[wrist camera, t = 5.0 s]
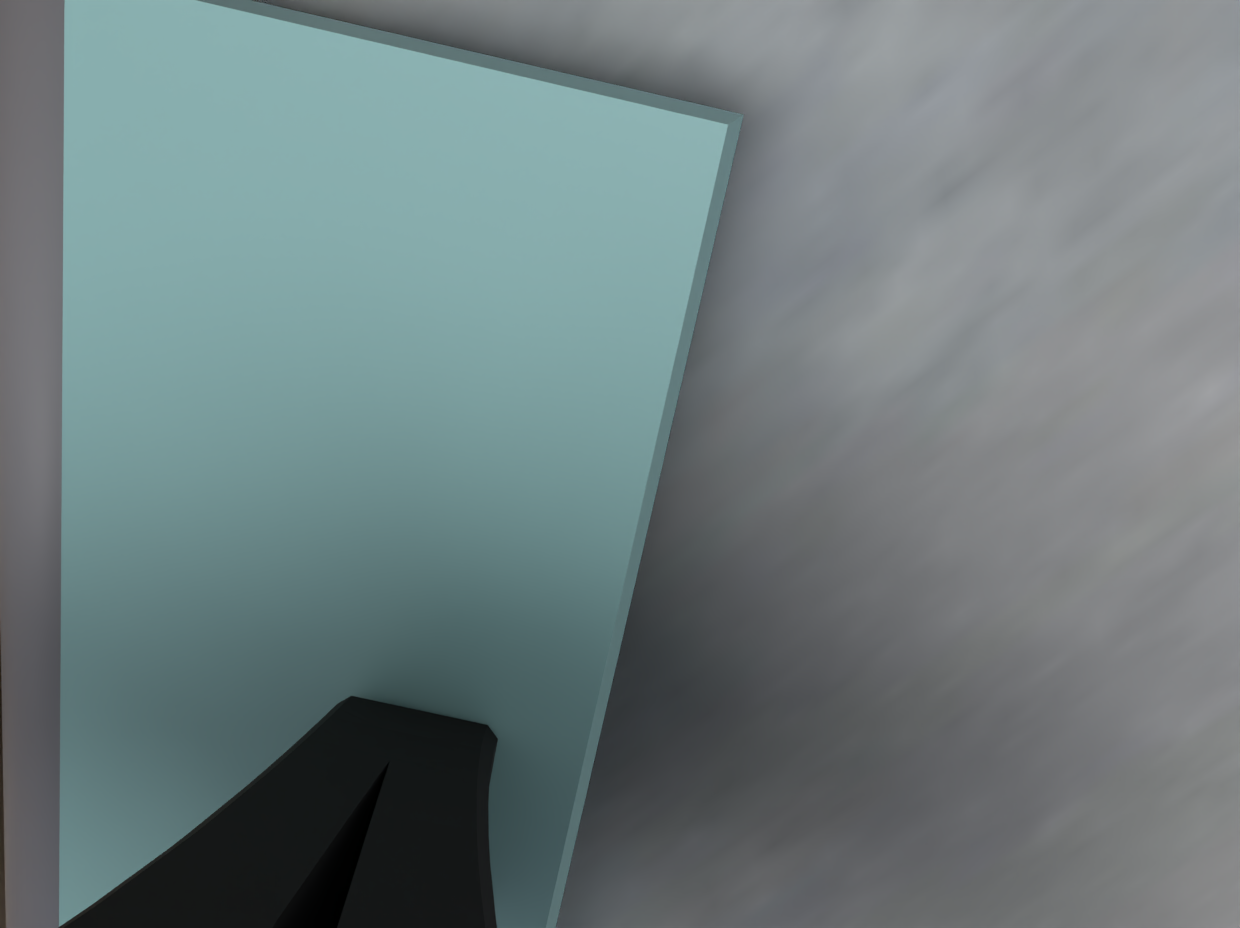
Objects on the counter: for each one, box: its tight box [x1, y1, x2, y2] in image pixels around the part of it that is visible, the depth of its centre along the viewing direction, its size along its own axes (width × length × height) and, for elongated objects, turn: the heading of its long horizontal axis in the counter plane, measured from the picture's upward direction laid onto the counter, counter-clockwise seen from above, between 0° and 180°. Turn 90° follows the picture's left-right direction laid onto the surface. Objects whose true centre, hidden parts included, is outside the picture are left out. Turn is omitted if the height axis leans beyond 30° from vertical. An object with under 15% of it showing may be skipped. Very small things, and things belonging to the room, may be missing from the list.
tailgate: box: [0, 0, 744, 928], centre depth 11 cm, size 11×1×6 cm
